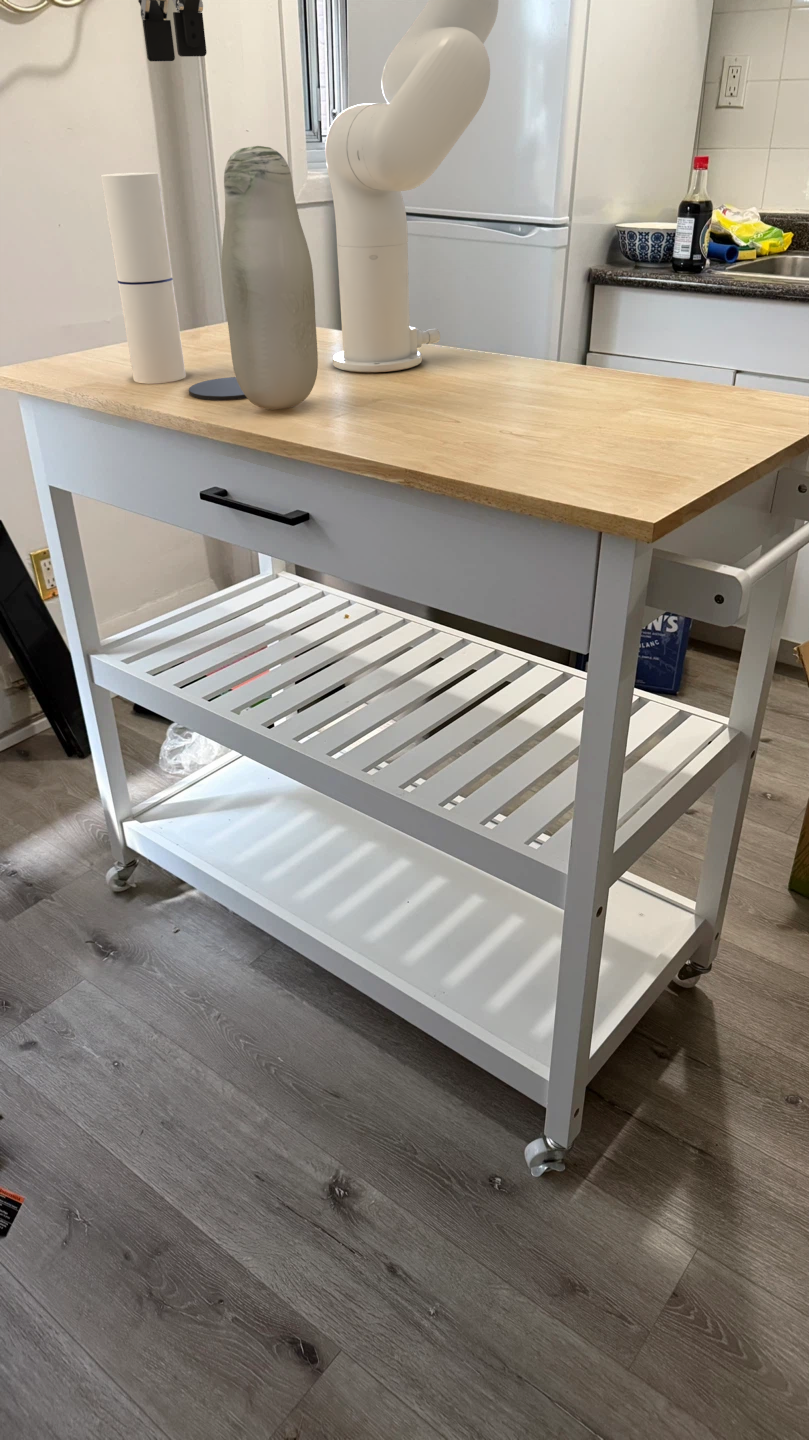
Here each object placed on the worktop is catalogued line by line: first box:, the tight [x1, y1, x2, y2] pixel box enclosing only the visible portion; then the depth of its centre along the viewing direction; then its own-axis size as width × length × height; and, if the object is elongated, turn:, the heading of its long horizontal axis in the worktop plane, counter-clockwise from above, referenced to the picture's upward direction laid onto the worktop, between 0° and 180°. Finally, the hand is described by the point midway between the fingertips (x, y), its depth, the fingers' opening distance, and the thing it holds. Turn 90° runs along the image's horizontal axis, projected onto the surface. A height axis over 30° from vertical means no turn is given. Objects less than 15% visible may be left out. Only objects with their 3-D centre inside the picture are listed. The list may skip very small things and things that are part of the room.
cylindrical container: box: [100, 171, 187, 385], centre depth 136 cm, size 7×7×25 cm
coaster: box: [188, 376, 248, 401], centre depth 134 cm, size 11×11×1 cm
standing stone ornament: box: [220, 145, 319, 411], centre depth 119 cm, size 10×10×28 cm
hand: (176, 58), depth 117 cm, fingers open, 9 cm apart
